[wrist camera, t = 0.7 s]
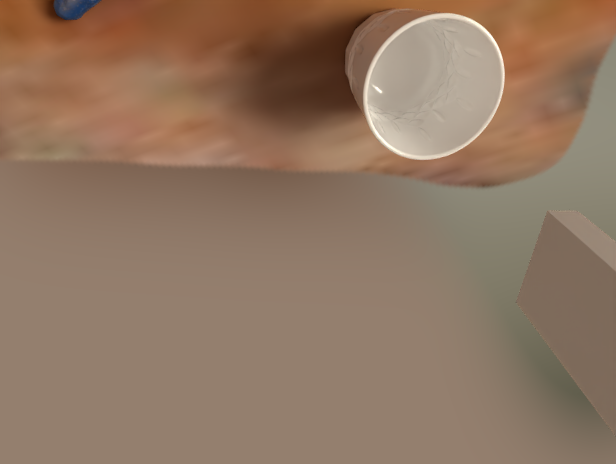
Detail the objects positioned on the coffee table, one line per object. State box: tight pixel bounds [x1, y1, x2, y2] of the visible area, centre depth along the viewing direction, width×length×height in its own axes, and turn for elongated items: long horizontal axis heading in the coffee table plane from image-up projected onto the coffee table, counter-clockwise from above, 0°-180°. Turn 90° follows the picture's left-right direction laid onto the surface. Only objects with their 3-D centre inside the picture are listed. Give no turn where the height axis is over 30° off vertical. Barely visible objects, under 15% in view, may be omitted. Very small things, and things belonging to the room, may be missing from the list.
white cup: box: [345, 8, 504, 160], centre depth 31 cm, size 8×8×10 cm
